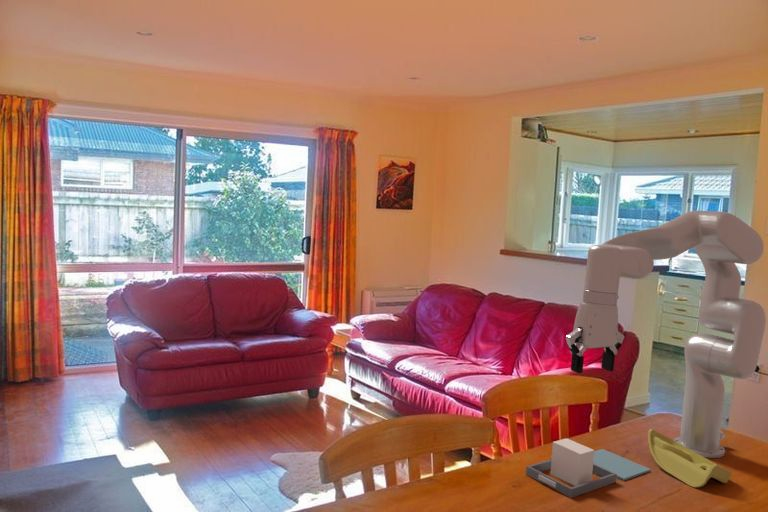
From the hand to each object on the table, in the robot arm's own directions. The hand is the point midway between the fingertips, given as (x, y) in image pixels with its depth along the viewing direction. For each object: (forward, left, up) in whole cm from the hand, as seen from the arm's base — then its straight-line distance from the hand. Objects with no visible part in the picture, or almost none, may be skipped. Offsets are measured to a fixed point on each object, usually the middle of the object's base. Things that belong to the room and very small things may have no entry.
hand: (592, 370), depth 147 cm
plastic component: (-27, +10, -26) cm, 39 cm away
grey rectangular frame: (+3, -1, -26) cm, 26 cm away
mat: (-13, -1, -26) cm, 29 cm away
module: (+3, -1, -26) cm, 26 cm away
